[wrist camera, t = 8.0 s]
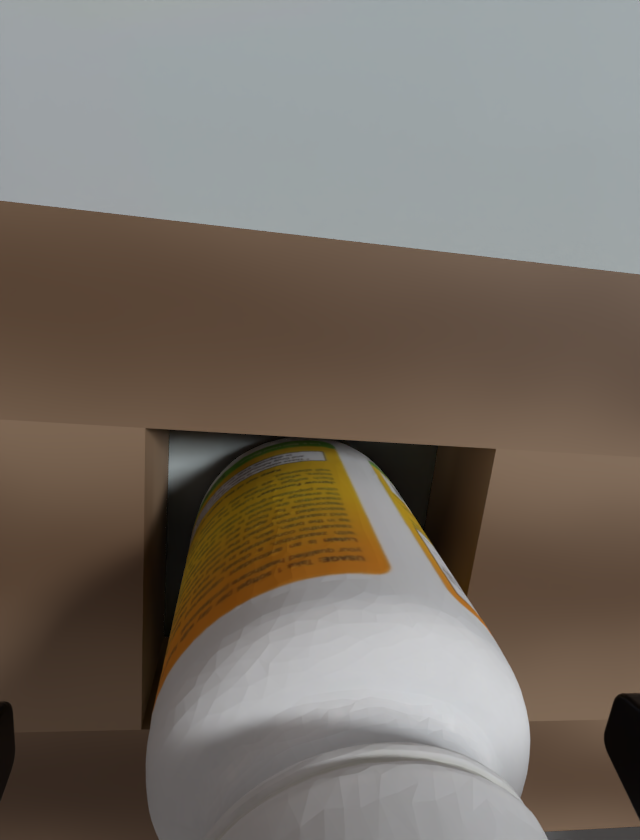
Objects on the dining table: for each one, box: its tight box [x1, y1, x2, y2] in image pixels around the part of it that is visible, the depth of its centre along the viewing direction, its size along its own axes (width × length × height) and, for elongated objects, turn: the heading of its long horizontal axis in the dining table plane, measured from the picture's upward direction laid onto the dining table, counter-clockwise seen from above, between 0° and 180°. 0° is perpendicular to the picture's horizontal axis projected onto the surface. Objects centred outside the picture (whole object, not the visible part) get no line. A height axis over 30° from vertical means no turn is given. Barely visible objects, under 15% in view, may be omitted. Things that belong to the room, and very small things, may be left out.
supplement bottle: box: [146, 437, 548, 840], centre depth 9 cm, size 5×5×10 cm
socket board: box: [0, 201, 640, 840], centre depth 12 cm, size 14×20×3 cm
